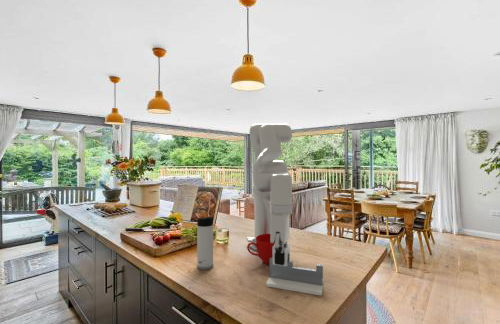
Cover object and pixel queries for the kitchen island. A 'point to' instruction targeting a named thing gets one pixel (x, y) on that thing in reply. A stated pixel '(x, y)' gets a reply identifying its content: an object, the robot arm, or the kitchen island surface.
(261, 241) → the ceramic cup
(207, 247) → the travel mug
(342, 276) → the kitchen island surface
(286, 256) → the clip
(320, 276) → the rail
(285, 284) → the base board
